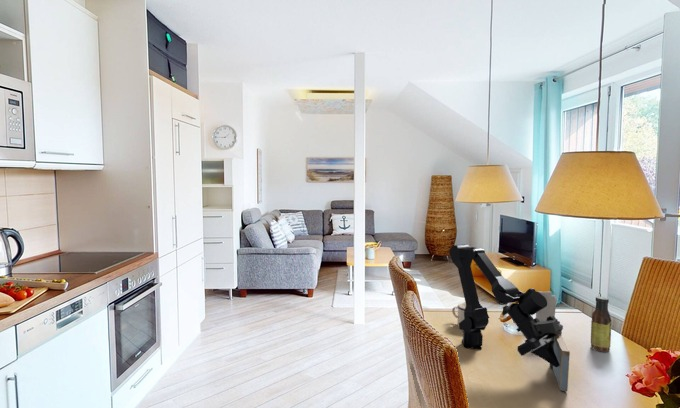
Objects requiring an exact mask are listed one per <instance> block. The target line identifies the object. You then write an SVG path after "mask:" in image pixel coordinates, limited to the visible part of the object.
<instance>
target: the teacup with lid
mask: <svg viewBox="0 0 680 408" xmlns="http://www.w3.org/2000/svg"><path fill="white" fill-rule="evenodd" d="M465 307H466V302H465V301H463V302H460V303H458V305H457V306H454V307H452V311H451V312H452V315H453V316H454V318H456V319H457V324H456V325H457V326H458V327H459V323H460V322H461V321H462V320H464V311H465ZM456 309H457V314H456V311H455V310H456Z"/></svg>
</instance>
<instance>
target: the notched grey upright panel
mask: <svg viewBox="0 0 680 408" xmlns="http://www.w3.org/2000/svg"><path fill="white" fill-rule="evenodd" d="M538 292H539V293H540V294H542V295H543V296H544V297H545V298H546V300H547V306H546V307H545V308H543V309H542V310H540V311H538V312H537V313H535V318H537V319H538V320H539V321H540V322H541V321H545V320H547V317H549V316H554V317H555V318H556V307H557V301H558V299H557V297H556V295H555V294H554V295H553V294H552V291H549V290H548V291H542V290H540V291H538ZM550 341H551V339H550Z"/></svg>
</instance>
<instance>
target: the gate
mask: <svg viewBox="0 0 680 408" xmlns="http://www.w3.org/2000/svg"><path fill="white" fill-rule="evenodd" d="M554 352H555V355H556V357H557V360H558V362H559V365H560V366H559V367H555V366H553V369H552V370H553V372H554V376H555V378H556V381H557V384H558V389H559V390H560V391H563V392H568V390H569V389H568V388H569V371H570V370H569V369H570V355H571V354H570V353H571V352H570V349H569V348H568V345H567V343H566V342H565V340H564V338H563V335H562V334H558V335H556V336H554Z"/></svg>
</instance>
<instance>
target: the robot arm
mask: <svg viewBox="0 0 680 408" xmlns="http://www.w3.org/2000/svg"><path fill="white" fill-rule="evenodd" d="M448 252H449V255H450V259H451V261H452V263H453V264H454V266H455V267H456V268H457V271H458V274H459V275H458V276H459V279H460V283H461V288H462V293H463V296H464V297H463V298H464V302H466V307H465V311H464V320H462V321H461V322H460V323H459V326H458V327H459V330H461V331H462V339H461V342H462V345H463V348H466V349H475V350H482V349H483V348H482V347H483V340H484V339H483V337H484V336H483V334H482V331H485V330H486V328H487V326H488V324H489V323H490V321H489V319H490V316H489V313H488V308H487V307H486V306H485V307H483V306H482V305H481V303H480V301H479V299H480V298H479V296H478V291H477V288H476V283H475V278H474V274H473V270H472V263H473V262H474V263H475V264H476V266H477V267H478V268H479V270H480V272H481V273H482V274H483V276H484V277H485V278H486V279H487V280H486V281H488V283H489V284H490V287H491V292H492V294H493V296H494V297H495V300H496V301H497V302H498V303H499V304H502V305H505V304H510V305H505V306H502V313H501V315H502V316H505V315H507V314H508V316H509V317H510V319H512V321H513V322H514V324H515V325H516V327H517V328H516V331H517V332H521V333H522V335H523V337H525V340H524V342H523V343H522V344H520V345H518V346H517V352H518V353H519V355H520V356H521V357H523V356H524V355H527V354H528V353H531V354H533V355H536V356H537V357H539V358H541V359H542V360H544V361H546V362H547V363H549V365H550V364H552V365H553V366H555V367H559V366H560V365H559V362H558V360H557V357H556V355H555V352H554V349H553V342H554V339H553V340H551V341H550V339H551V338H552V337H554V336H556V335H558V334H560V332H559V331H558V330H560V327H559V324H561V322H560V321H559V320H558V318H556V316H555V317H554V316H549V317H547V320H545V321H541V322H540V321H539V320H538V319H537V318H536V317H535V318H534V317H533V316H534V315H536V313H537V312H538V311H540V310H542V309H543V308H545V307H546V306H547V300H546V298H545V297H544V296H543V295H542V294H540V293H539V291H537V290H536V289H535V288H534V287H533V288H528V289H527V290H525V292H523V291H521V290H520V289H519V288H518V287H517V286H516V285H515V284H514V283H513V282H511V280H508V279H507V278H505V277H504V276H503V275H502V273H501V272H500V271H499V270H498V268H497V267H496V265H495V264H494V263H493V262H492V261H491V259H490V258H489V257H488V255H487V254H486V251H485V249H483V248H481V247H477V246H476V247H473V246H470V245H469V244H467V243H466V244H453V245H451V247H450V248H449V251H448Z"/></svg>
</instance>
